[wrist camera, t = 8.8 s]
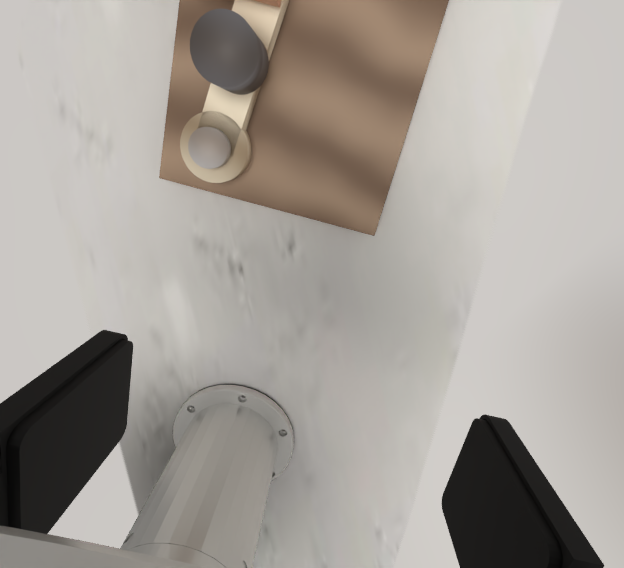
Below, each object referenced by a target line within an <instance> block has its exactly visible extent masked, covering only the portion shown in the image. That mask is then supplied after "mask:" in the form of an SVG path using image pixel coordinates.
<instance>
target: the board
mask: <svg viewBox="0 0 624 568" xmlns="http://www.w3.org/2000/svg"><path fill="white" fill-rule="evenodd" d="M234 1H235V0H180V2H179V11H178V20H177V28H176V37H175V46H174V54H173V63H172V72H171V80H170V89H169V98H168V106H167V115H166V124H165V132H164V141H163V150H162V158H161V167H160V176H159V178H162V179H165V180H169V181H173V182H176V183H180V184H184V185H188V186H191V187H195V188H199V189H202V190H206V191H210V192H214V193H217V194H221V195H225V196H228V197H232V198H236V199H240V200H243V201H247V202H251V203H254V204H258V205H262V206H266V207H269V208H273V209H277V210H280V211H284V212H288V213H292V214H295V215H299V216H303V217H306V218H310V219H314V220H318V221H321V222H325V223H329V224H332V225H336V226H340V227H344V228H347V229H351V230H355V231H358V232H362V233H366V234H370V235H373V236H374V235H375V232H376V229H377V225H378V222H379V219H380V216H381V213H382V210H383V207H384V203H385V200H386V197H387V194H388V191H389V188H390V184H391V181H392V178H393V175H394V172H395V169H396V166H397V162H398V159H399V156H400V153H401V150H402V147H403V143H404V140H405V137H406V134H407V131H408V128H409V125H410V121H411V118H412V115H413V112H414V109H415V106H416V102H417V99H418V96H419V93H420V90H421V87H422V84H423V80H424V77H425V74H426V71H427V68H428V65H429V61H430V58H431V55H432V52H433V49H434V46H435V43H436V39H437V36H438V33H439V30H440V27H441V24H442V20H443V17H444V14H445V11H446V8H447V5H448V1H449V0H289V3H288V6H287V9H286V12H285V15H284V18H283V21H282V24H281V27H280V30H279V33H278V36H277V39H276V42H275V45H274V48H273V51H272V54H271V57H270V60H269V68H268V73H267V76H266V78H265V80H264V82H263V83H262V85H261V87H260V90H259V93H258V96H257V99H256V102H255V105H254V108H253V111H252V114H251V117H250V120H249V123H248V126H247V129H246V131H247V133H248V135H249V138H250V142H251V158H250V162H249V164H248V166H247V168H246V169H245V171H244V172H243V173H242V174H241V175H240V176H238V177H237V178H235V179H232V180H230V181H226V182H222V183H211V182H207V181H204V180H202V179H200V178H198V177H197V176H195V175H194V174H193V173H192V172H191V171H190V170H189V169H188V167H187V166H186V164H185V162H184V160H183V158H182V154H181V149H180V138H181V134H182V131H183V129H184V127H185V125H186V124H187V122H188V121H189V120H190V119H191V118H192V117H194V116H195V115H197V114H199V113H201V112H202V111H203V108H204V104H205V101H206V98H207V94H208V91H209V87H210V84H211V82H209V81H207V80H206V79H205V78H204V77H202V76H201V74H200V73H199V72H198V71H197V69H196V67H195V65H194V63H193V61H192V58H191V54H190V37H191V33H192V30H193V27H194V25H195V24H196V22H197V21H198V20H199V18H200V17H201V16H203V15H204V14H205V13H207V12H209V11H211V10H214V9H228V10H231V11H232V8H233V4H234ZM188 150H189V154H190V156H191V158H192V159H193V161H194V162H195V163H196V164H197V165H199V166H200V167H202V168H206V169H213V168H218V167H221V166H223V165H224V164H225V163H226V162H227V161H228V159H229V157H230V154H231V145H230V141H229V139H228V137H227V136H226V135H225V134H224V133H223V132H222V131H221V130H219V129H217V128H212V127H201V128H198V129H197V130H195V131H194V132H193V133H192V135H191V136H190V138H189V142H188Z"/></svg>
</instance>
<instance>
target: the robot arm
mask: <svg viewBox="0 0 624 568" xmlns="http://www.w3.org/2000/svg"><path fill="white" fill-rule="evenodd" d="M132 354H133V343H132V342H131V341H128V338H127V336H126V335H125V334H120V333H116V332H111V331H107V330H103V331H101V332H99V333H98V334H96V335H95V336H94V337H92V338H91V339H90V340H88V341H87V342H85V343H84V344H83V345H81V346H80V347H78V348H77V349H76V350H74V351H73V352H72V353H70V354H69V355H68V356H66V357H65V358H63V359H62V360H60V361H59V362H58V363H56V364H55V365H53V366H52V367H51V368H49V369H48V370H47V371H45V372H44V373H42V374H41V375H40V376H38V377H37V378H35V379H34V380H32V381H31V382H30V383H28V384H27V385H26V386H24V387H23V388H21V389H20V390H19V391H18V392H16V393H15V394H13V395H12V396H10V397H9V398H8V399H6V400H5V401H3V402H2V403H1V404H0V568H252V567H253V562H254V558H255V553H256V548H257V544H258V539H259V534H260V530H261V525H262V521H263V516H264V511H265V507H266V502H267V497H268V493H269V488H270V483H271V481H272V480H274V479H275V478H277V477H278V476H279V475H280V474H281V473H282V472H283V471H284V470H285V468H286V467H287V466H288V464H289V461H290V459H291V457H292V452H293V446H294V435H293V429H292V426H291V424H290V421H289V419H288V417H287V416H286V414H285V413H284V411H283V410H282V409H281V408H280V407H279V406H278V405H277V404H276V403H275V402H274V401H273V400H271V399H270V398H268V397H267V396H266V395H264V394H262V393H260V392H258V391H256V390H253V389H250V388H247V387H243V386H237V385H217V386H213V387H208V388H206V389H203V390H201V391H198V392H197V393H195V394H194V395H193V396H191V397H190V398H189V399H188V400H187V401H186V402H185V403H184V404H183V406H182V407H181V409H180V410H179V412H178V414H177V416H176V419H175V421H174V426H173V441H174V444H175V447H176V449H175V451H174V453H173V454H172V456H171V458H170V460H169V462H168V463H167V465H166V467H165V469H164V471H163V472H162V474H161V476H160V478H159V480H158V481H157V483H156V485H155V487H154V489H153V491H152V492H151V494H150V496H149V498H148V500H147V501H146V503H145V505H144V507H143V509H142V510H141V512H140V514H139V516H138V518H137V519H136V521H135V523H134V525H133V527H132V529H131V530H130V532H129V534H128V536H127V538H126V540H125V541H124V543H123V545H122V546H121V548H120V549H118V548H114V547H109V546H104V545H99V544H94V543H90V542H84V541H80V540H74V539H69V538H64V537H59V536H53V535H48V534H47V533H48V532H49V531H50V530H51V528H52V527H53V526H54V524H55V523H56V522H57V521H58V519H59V518H60V517H61V515H62V514H63V513H64V512H65V510H66V509H67V508H68V506H69V505H70V504H71V503H72V501H73V500H74V499H75V497H76V496H77V495H78V494H79V492H80V491H81V490H82V488H83V487H84V486H85V485H86V483H87V482H88V481H89V479H90V478H91V477H92V476H93V474H94V473H95V472H96V470H97V469H98V468H99V467H100V465H101V464H102V463H103V461H104V460H105V459H106V458H107V456H108V455H109V454H110V452H111V451H112V450H113V449H114V447H115V446H116V445H117V443H118V442H119V441H120V440H121V438H122V436H123V434H124V432H125V429H126V425H127V414H128V402H129V390H130V378H131V366H132ZM442 509H443V513H444V516H445V519H446V523H447V526H448V529H449V533H450V536H451V539H452V542H453V546H454V549H455V552H456V556H457V559H458V562H459V565H460V568H603V567H604V564H603V563H602V561H601V560H600V558H599V557H598V555H597V554H596V552H595V551H594V550H593V548H592V547H591V545H590V543H589V542H588V540H587V539H586V537H585V536H584V534H583V533H582V531H581V530H580V528H579V527H578V525H577V524H576V522H575V521H574V519H573V518H572V516H571V515H570V513H569V512H568V510H567V509H566V507H565V506H564V504H563V503H562V501H561V500H560V498H559V497H558V495H557V494H556V492H555V491H554V489H553V488H552V486H551V485H550V483H549V482H548V480H547V479H546V477H545V476H544V474H543V473H542V471H541V470H540V468H539V467H538V465H537V464H536V462H535V461H534V459H533V458H532V456H531V455H530V453H529V452H528V450H527V449H526V447H525V446H524V444H523V443H522V441H521V440H520V438H519V437H518V435H517V434H516V432H515V430H514V429H513V428H512V426H511V424H510V423H509V422H508V421H507V420H506V419H502V418H498V417H493V416H489V415H482V416H481V417H480V419H475V420H474V421H473V422H472V425H471V427H470V429H469V432H468V434H467V437H466V439H465V442H464V444H463V447H462V449H461V452H460V454H459V456H458V459H457V461H456V464H455V466H454V469H453V471H452V474H451V476H450V478H449V481H448V483H447V486H446V488H445V491H444V493H443V497H442Z"/></svg>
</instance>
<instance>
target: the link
mask: <svg viewBox="0 0 624 568" xmlns="http://www.w3.org/2000/svg"><path fill="white" fill-rule="evenodd" d="M288 3H289V0H281V4H280V8H279V7H276V6H272V5H269V4H265V3H261V2H258V1H254V0H235V1H234V4H233V8H232V11H231V10H228V9H214V10H211V11H209V12H207V13H205V14H204V15H203V16H201V17H200V18H199V20H198V21H197V22H196V24H195V25H194V27H193V30H192V33H191V37H190V54H191V58H192V61H193V63H194V65H195V67H196V69H197V71H198V72H199V73H200V74H201V76H202V77H204V78H205V79H206V80H207V81H209V82H211V84H210V87H209V91H208V94H207V98H206V101H205V104H204V108H203V111H202V112H201V113H199V114H197V115H195V116H194V117H192V118H191V119H190V120H189V121H188V122H187V124H186V125H185V127H184V129H183V131H182V134H181V138H180V149H181V154H182V158H183V160H184V162H185V164H186V166H187V167H188V169H189V170H190V171H191V172H192V173H193V174H194V175H195V176H197V177H198V178H200V179H202V180H204V181H207V182H211V183H222V182H226V181H230V180H232V179H235V178H237V177H238V176H240V175H241V174H242V173H243V172H244V171H245V169H246V168H247V166H248V164H249V162H250V158H251V142H250V138H249V135H248V133H247V131H246V129H247V126H248V123H249V120H250V117H251V114H252V111H253V108H254V105H255V102H256V99H257V96H258V93H259V90H260V87H261V85H262V83H263V82H264V80H265V78H266V76H267V73H268V68H269V60H270V57H271V54H272V51H273V48H274V45H275V42H276V39H277V36H278V33H279V30H280V27H281V24H282V21H283V18H284V15H285V12H286V9H287V6H288ZM201 127H212V128H217V129H219V130H221V131H222V132H223V133H224V134H225V135H226V136H227V137H228V139H229V141H230V145H231V154H230V157H229V159H228V161H227V162H226V163H225V164H224V165H223V166H221V167H218V168H213V169H206V168H202V167H200V166H199V165H197V164H196V163H195V162H194V161H193V159H192V158H191V156H190V154H189V150H188V142H189V138H190V136H191V135H192V133H193V132H194V131H195V130H197V129H198V128H201Z"/></svg>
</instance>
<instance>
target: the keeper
mask: <svg viewBox="0 0 624 568" xmlns="http://www.w3.org/2000/svg"><path fill="white" fill-rule="evenodd" d="M254 1H258V2H261V3H265V4H269V5H272V6H276V7H279V8H280V4H281V0H254Z"/></svg>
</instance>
